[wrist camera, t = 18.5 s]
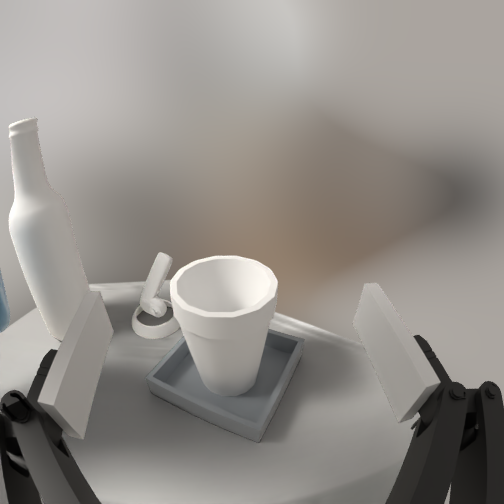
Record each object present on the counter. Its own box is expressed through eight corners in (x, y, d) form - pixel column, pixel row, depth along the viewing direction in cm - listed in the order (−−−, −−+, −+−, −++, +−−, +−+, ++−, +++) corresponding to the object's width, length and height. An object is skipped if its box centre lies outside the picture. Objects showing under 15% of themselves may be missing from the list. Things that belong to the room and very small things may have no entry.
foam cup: (248, 337, 37) (248, 248, 31) (285, 388, 30) (299, 296, 24) (178, 359, 34) (159, 268, 27) (205, 419, 26) (186, 331, 20)
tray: (151, 393, 29) (145, 377, 28) (209, 326, 40) (207, 309, 38) (259, 442, 24) (259, 430, 23) (301, 355, 35) (304, 339, 34)
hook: (212, 272, 42) (192, 269, 36) (181, 343, 42) (157, 351, 36) (172, 251, 44) (147, 245, 38) (144, 319, 44) (117, 323, 38)
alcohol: (80, 351, 34) (15, 120, 19) (40, 336, 35) (-21, 135, 20) (109, 312, 41) (69, 108, 27) (70, 302, 42) (27, 121, 28)
